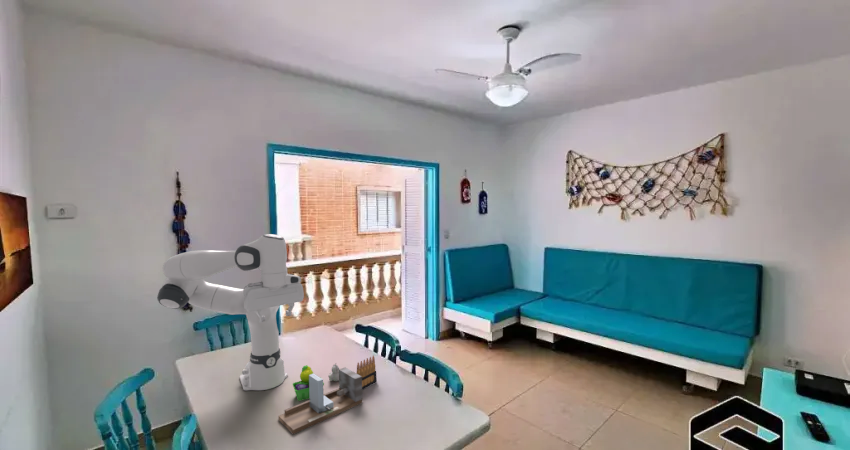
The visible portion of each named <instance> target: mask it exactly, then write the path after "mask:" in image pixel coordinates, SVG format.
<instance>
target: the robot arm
mask: <svg viewBox="0 0 850 450" xmlns="http://www.w3.org/2000/svg"><path fill="white" fill-rule="evenodd" d="M286 243H287V242H286V240H285V238H284V236H282V235H279V234H276V233H275V234H274V233H273V234H272V233H265V234H262V235H261V236H260V237H259V238H257V239H255V240H254V241H251V242H248V243H245V244H243V245H240V246H238V247H237V248H236V250H209V249H208V250H207V249H203V250H201V249H198V250H191V251H186V252H181V253H179V254H178V253H177V254H176V255H173V256H171V257H169V258H167V259H166V260H165V262H164V263H163V267H162V272H163V274H164V276H165V277H166V278H165V279H164V281H163V284H162V286H161V287H160V289H159V291H158V293H157V301H158V303H159V304H160V305H161V306H164V307H165V308H167V309H171V310H172V309H174V310H176V309H177V310H178V309H181V308H182V309H183V308H184V307H185V306H186V305H187V303H188V304H189V305H191V306H193V307H197V308H199V309H203V310H205V311H210V312H215V313H221V314H226V315H233V316H234V315H245V316H246V320H247V322H248V328H249V332H250V343H251V344H250V346H251V351H250V354H249V355H250V356H249V361H248V362H247V363H246V364H245V365H244V369H242V372H241V373H242V374H240V375H239V379H240V383H241V387H242V390H243V391H264V390H265V391H266V390H270V389H274V388H276V387H278V386H280V385H281V384H282V383H283V382H284V381H285V380H286V378H288V376H289V374H288V373H287V372H286V371H285V363H284V359H283V358H282V357H281V348H280V340H279V339H280V338H279V335H280V334H279V333H280V332H279V328H278V324H277V323H278V322H277V312H278V310H279V308H280V307H281V306H285V305H288V309H285V316H287V317H290V316H292V311H293V308H294V307H295V304H297V303H301V302H302V301H304V298H305V294H304V287H303V285H302V283H301V282H302V278H301V276H299V275H296V274H292V273H288V268H287V261H288V252H287V244H286ZM234 268H239V270H241V271H245V272H251V271H256V270H260V281H258V282H254V283H253V282H251V283H248V284H247V285H245V286H244V288H238V287H232V286H227V285H222V284H217V283H211V282H208V281H206V280H205V279H207V278H209V277H213V276H214V275H218V274H220V273H223V272H226V271H228V270H230V269H234Z"/></svg>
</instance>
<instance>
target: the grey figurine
mask: <svg viewBox="0 0 850 450" xmlns="http://www.w3.org/2000/svg"><path fill="white" fill-rule="evenodd" d="M339 369H340V367H339V366H338V365H337V363H335V364H333V365H332V366H331V372H330V373H329V375H328V380H329V381H330V382H331V381H333V382H339Z"/></svg>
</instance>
